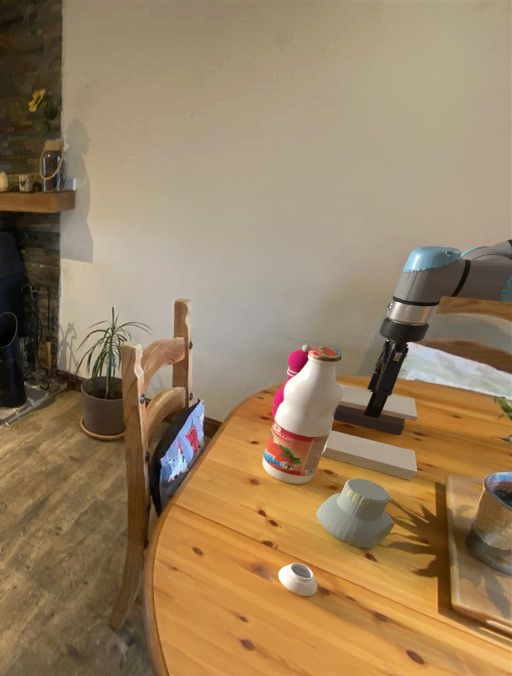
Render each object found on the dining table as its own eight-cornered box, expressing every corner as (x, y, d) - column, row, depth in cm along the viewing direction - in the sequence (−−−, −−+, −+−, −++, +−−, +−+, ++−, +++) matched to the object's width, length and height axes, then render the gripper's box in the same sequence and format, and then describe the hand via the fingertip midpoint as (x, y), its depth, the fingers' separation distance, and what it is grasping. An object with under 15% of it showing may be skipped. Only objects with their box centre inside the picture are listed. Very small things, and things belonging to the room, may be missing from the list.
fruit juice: (322, 486, 84) (371, 362, 71) (271, 484, 86) (310, 361, 73) (299, 457, 93) (340, 341, 80) (254, 455, 94) (286, 341, 81)
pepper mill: (300, 411, 109) (323, 340, 99) (304, 426, 103) (329, 352, 94) (268, 407, 112) (287, 337, 102) (271, 420, 106) (291, 348, 97)
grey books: (399, 421, 102) (407, 404, 100) (400, 435, 98) (409, 417, 95) (333, 406, 110) (339, 390, 108) (331, 419, 105) (338, 402, 103)
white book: (412, 402, 101) (414, 398, 100) (415, 421, 94) (417, 416, 93) (335, 387, 109) (337, 383, 108) (333, 403, 102) (334, 399, 102)
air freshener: (357, 561, 69) (379, 517, 64) (305, 528, 75) (322, 486, 71) (392, 535, 73) (415, 492, 68) (340, 506, 80) (357, 464, 75)
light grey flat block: (410, 459, 90) (414, 450, 89) (412, 481, 84) (417, 471, 83) (324, 437, 99) (327, 429, 97) (321, 455, 93) (324, 447, 92)
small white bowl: (278, 589, 65) (317, 602, 63) (283, 577, 64) (323, 590, 62) (277, 565, 69) (314, 576, 67) (282, 553, 68) (319, 564, 65)
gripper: (383, 304, 101) (353, 384, 112) (385, 333, 86) (350, 423, 96) (425, 308, 97) (390, 391, 107) (435, 339, 82) (392, 433, 92)
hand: (371, 406), depth 102 cm, fingers closed on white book, 10 cm apart
